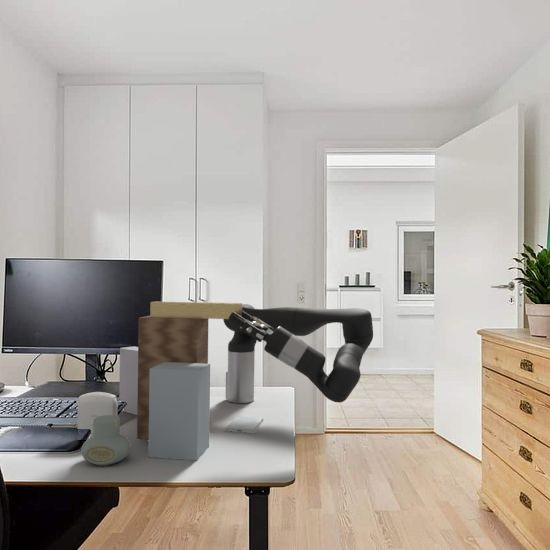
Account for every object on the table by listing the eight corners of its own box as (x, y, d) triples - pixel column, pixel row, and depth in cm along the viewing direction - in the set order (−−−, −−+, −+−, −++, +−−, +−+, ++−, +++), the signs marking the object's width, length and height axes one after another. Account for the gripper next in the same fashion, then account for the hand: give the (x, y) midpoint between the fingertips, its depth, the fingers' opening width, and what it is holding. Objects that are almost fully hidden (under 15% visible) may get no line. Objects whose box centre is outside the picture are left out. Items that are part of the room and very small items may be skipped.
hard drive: (237, 415, 158) (225, 427, 145) (263, 417, 156) (253, 429, 144) (237, 421, 158) (225, 433, 145) (263, 423, 156) (253, 435, 144)
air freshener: (134, 455, 125) (134, 413, 125) (125, 468, 117) (125, 423, 117) (88, 454, 125) (89, 413, 125) (76, 467, 117) (76, 423, 117)
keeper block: (148, 457, 124) (149, 368, 124) (163, 443, 134) (165, 361, 134) (197, 460, 122) (198, 370, 122) (209, 446, 132) (210, 363, 132)
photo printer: (74, 442, 134) (75, 394, 134) (80, 436, 139) (81, 390, 139) (114, 442, 134) (114, 394, 134) (119, 437, 138) (120, 390, 138)
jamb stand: (136, 439, 137) (138, 317, 137) (151, 428, 146) (153, 314, 146) (195, 443, 134) (197, 319, 134) (206, 432, 144) (208, 316, 144)
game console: (177, 427, 149) (178, 357, 149) (118, 410, 165) (119, 348, 165) (191, 422, 153) (192, 355, 153) (133, 407, 170) (134, 346, 170)
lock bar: (150, 317, 138) (150, 302, 138) (155, 316, 142) (155, 301, 142) (239, 319, 136) (239, 303, 136) (242, 318, 140) (242, 303, 140)
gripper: (274, 364, 128) (220, 328, 130) (282, 355, 142) (233, 323, 144) (290, 338, 127) (235, 303, 130) (297, 332, 142) (247, 300, 144)
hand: (234, 313), depth 137 cm, fingers open, 8 cm apart
